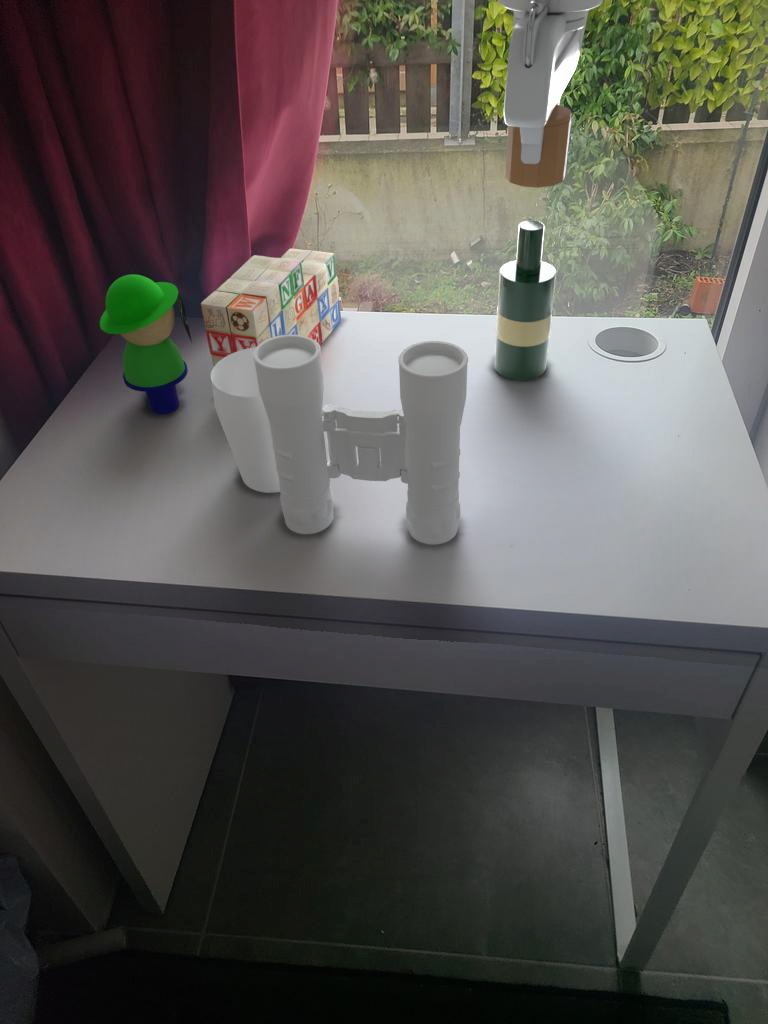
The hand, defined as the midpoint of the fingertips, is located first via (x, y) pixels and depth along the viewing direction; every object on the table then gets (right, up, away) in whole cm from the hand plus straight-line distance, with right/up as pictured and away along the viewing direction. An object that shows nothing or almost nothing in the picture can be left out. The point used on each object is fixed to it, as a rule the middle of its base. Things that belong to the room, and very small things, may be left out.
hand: (537, 149), depth 79 cm
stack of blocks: (-27, -17, +21) cm, 38 cm away
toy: (-40, -23, +15) cm, 48 cm away
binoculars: (-16, -36, -3) cm, 40 cm away
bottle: (+1, -18, +17) cm, 25 cm away
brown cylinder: (0, -2, +2) cm, 3 cm away
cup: (-26, -31, +4) cm, 41 cm away
